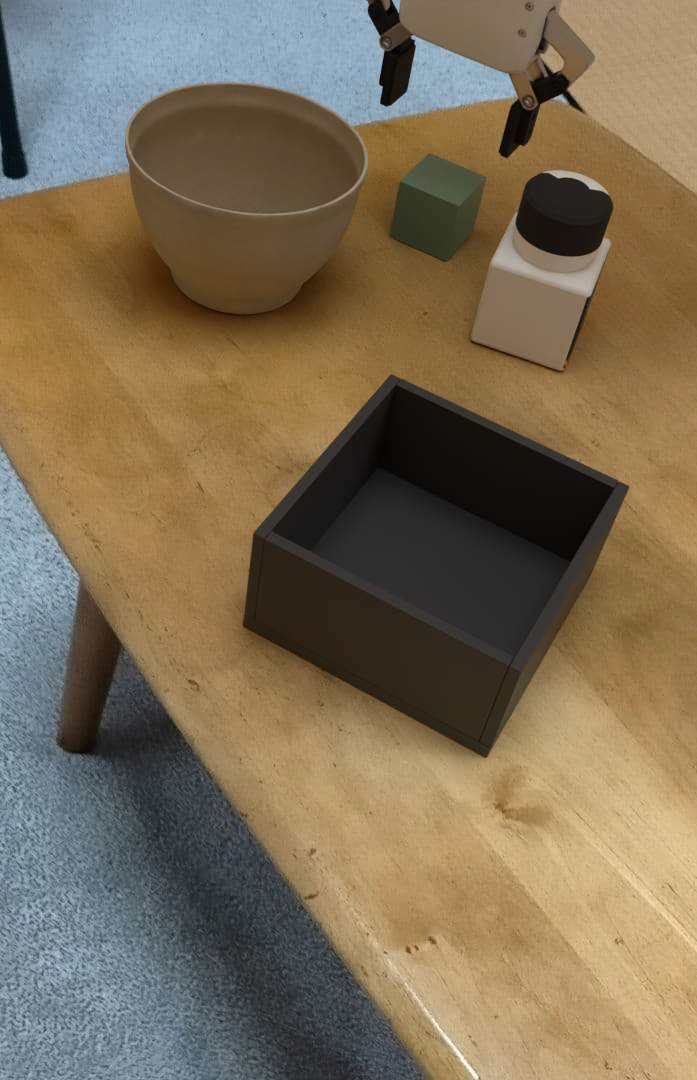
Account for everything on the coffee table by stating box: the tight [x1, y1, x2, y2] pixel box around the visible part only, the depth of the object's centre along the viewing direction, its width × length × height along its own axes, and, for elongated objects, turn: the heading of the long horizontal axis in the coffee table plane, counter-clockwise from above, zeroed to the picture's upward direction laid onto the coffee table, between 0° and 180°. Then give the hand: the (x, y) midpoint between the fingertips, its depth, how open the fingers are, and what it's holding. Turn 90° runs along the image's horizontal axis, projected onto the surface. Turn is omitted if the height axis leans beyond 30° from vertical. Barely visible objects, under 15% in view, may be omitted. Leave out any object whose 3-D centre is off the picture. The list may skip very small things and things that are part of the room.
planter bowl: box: [124, 81, 369, 315], centre depth 86 cm, size 16×16×11 cm
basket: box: [242, 373, 630, 758], centre depth 70 cm, size 15×15×8 cm
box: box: [389, 152, 487, 262], centre depth 95 cm, size 5×5×5 cm
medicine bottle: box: [470, 169, 614, 372], centre depth 86 cm, size 7×7×12 cm
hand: (451, 123), depth 90 cm, fingers open, 9 cm apart
